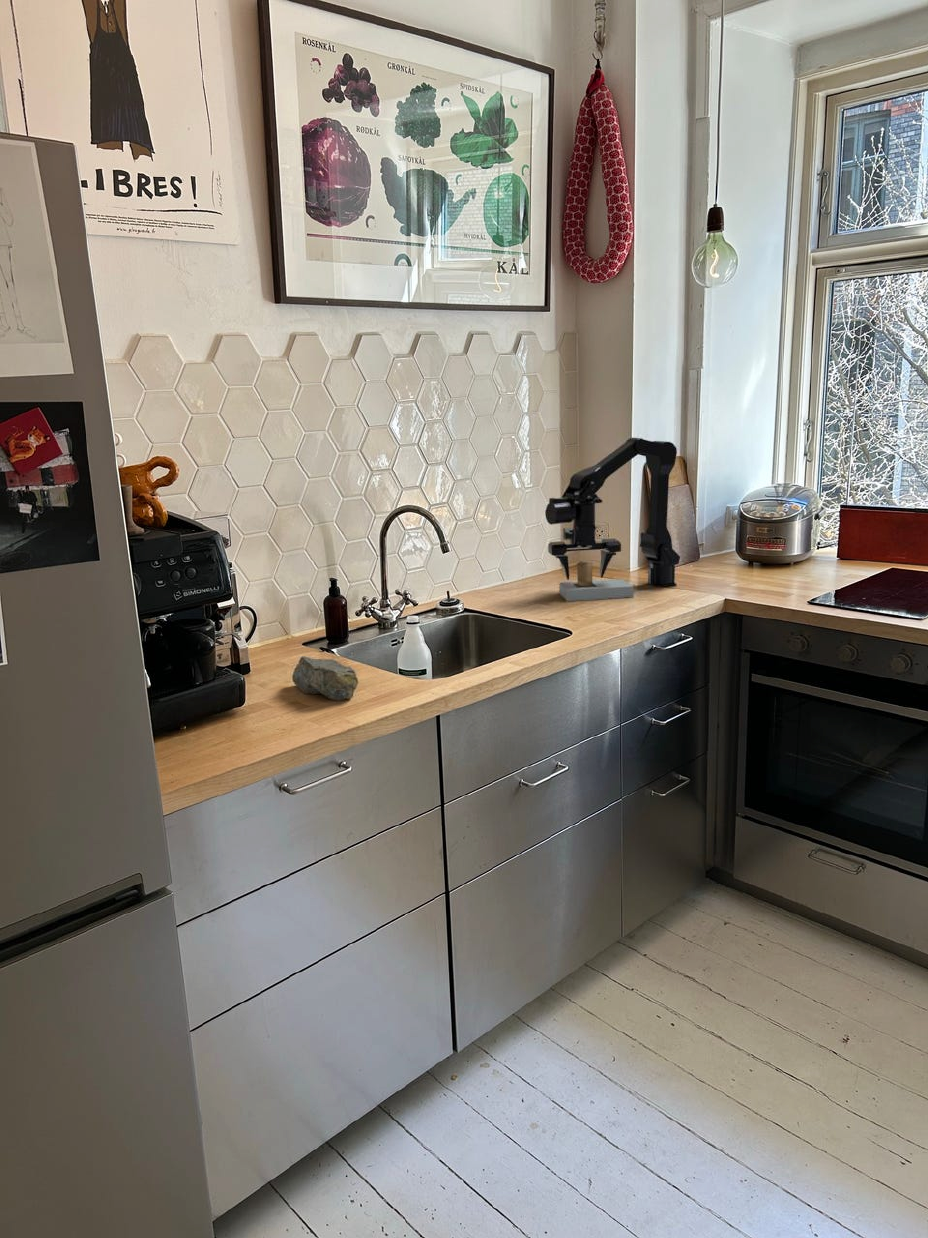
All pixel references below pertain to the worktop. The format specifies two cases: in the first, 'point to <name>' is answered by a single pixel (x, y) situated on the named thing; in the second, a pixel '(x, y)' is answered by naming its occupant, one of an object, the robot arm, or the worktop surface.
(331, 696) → the rock
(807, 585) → the worktop surface
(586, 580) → the peg
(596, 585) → the board
